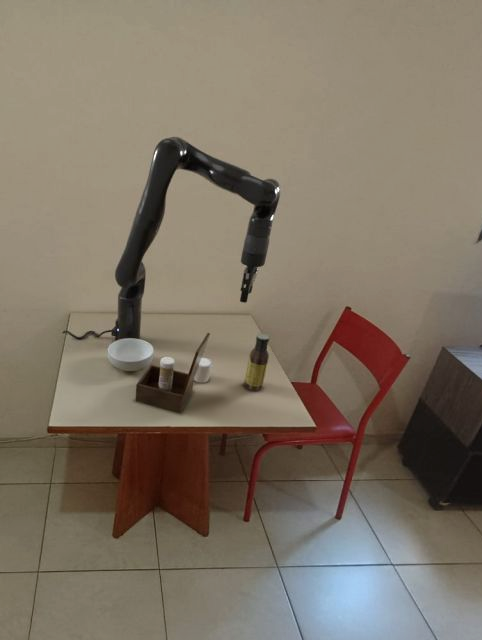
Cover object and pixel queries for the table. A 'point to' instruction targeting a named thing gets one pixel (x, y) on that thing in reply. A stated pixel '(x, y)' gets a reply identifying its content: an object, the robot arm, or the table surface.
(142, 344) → the cereal bowl
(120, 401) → the table surface
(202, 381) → the shot glass
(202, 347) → the chest lid
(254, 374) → the sauce bottle
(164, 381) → the sprinkles bottle
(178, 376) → the chest
